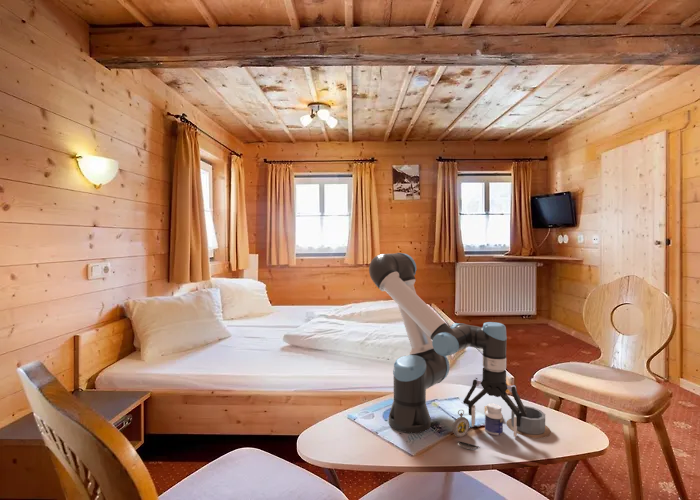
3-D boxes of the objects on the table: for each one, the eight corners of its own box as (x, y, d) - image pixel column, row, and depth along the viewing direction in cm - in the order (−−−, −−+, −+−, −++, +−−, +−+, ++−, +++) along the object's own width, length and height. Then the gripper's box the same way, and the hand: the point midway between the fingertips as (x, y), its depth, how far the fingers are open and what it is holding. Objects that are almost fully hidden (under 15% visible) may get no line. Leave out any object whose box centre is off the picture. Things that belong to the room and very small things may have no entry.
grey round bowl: (510, 429, 126) (510, 415, 125) (513, 417, 135) (513, 403, 135) (544, 438, 120) (544, 422, 120) (545, 424, 129) (545, 409, 129)
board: (503, 434, 125) (503, 430, 125) (508, 417, 137) (509, 414, 137) (550, 445, 118) (550, 442, 118) (551, 426, 130) (551, 423, 130)
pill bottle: (504, 440, 121) (504, 410, 121) (486, 438, 123) (486, 409, 122) (500, 431, 127) (501, 403, 127) (483, 429, 128) (483, 401, 128)
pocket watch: (476, 453, 114) (476, 421, 114) (450, 445, 118) (450, 414, 118) (482, 440, 121) (482, 411, 121) (457, 433, 125) (457, 405, 125)
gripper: (454, 365, 127) (454, 425, 128) (534, 378, 115) (533, 445, 115) (459, 359, 134) (459, 416, 134) (535, 371, 121) (535, 434, 122)
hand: (493, 429), depth 125 cm, fingers open, 13 cm apart
